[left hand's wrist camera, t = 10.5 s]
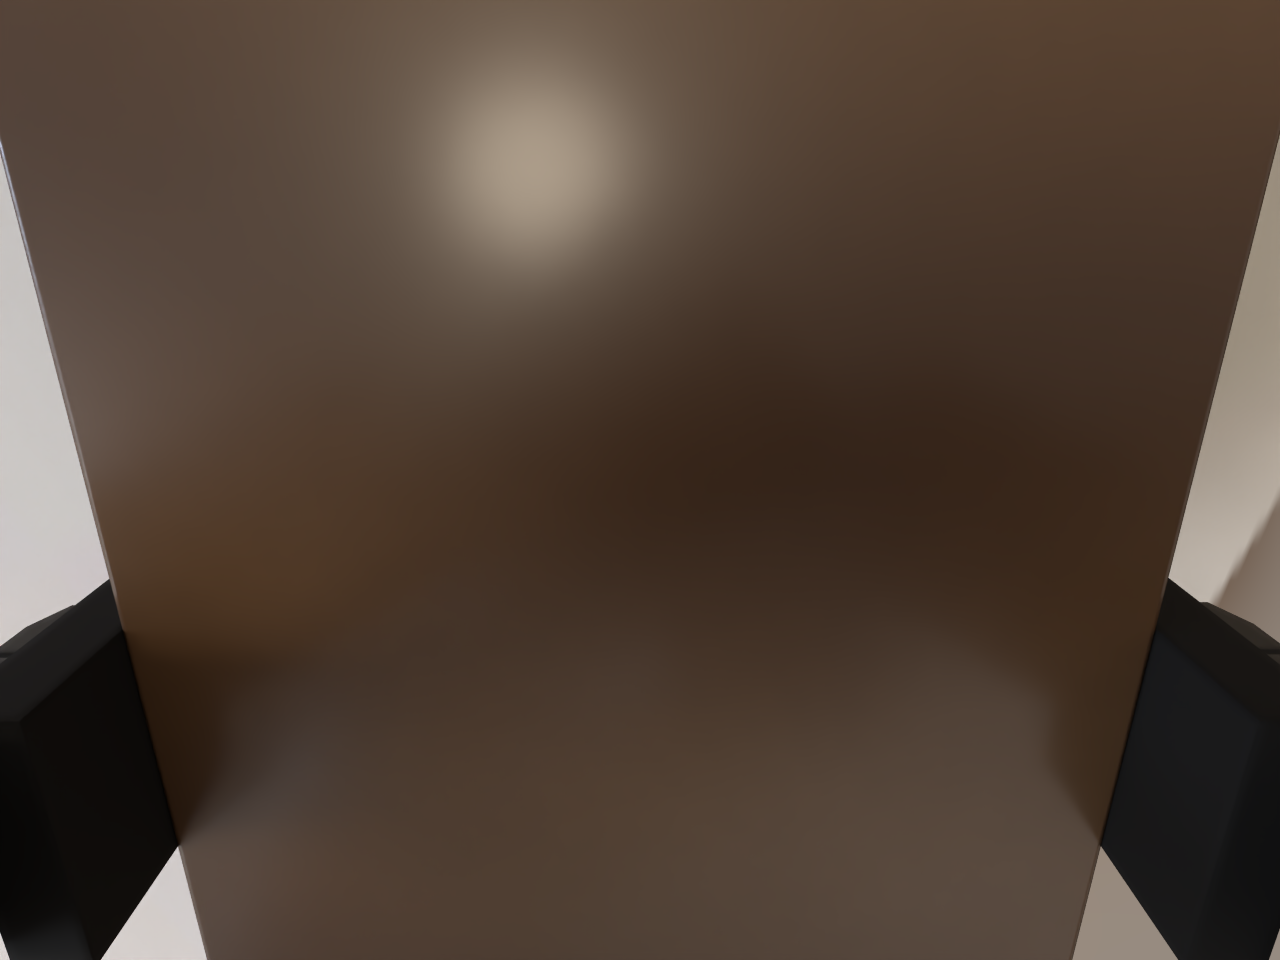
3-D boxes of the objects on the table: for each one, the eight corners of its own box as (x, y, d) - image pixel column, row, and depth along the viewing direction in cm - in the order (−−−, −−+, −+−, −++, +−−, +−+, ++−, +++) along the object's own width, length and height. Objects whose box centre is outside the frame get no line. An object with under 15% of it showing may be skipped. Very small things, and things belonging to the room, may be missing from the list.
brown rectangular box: (298, -487, 12) (-618, -2218, 3) (975, -488, 12) (1882, -2221, 3) (421, 631, 19) (227, 1052, 10) (858, 630, 19) (1052, 1051, 10)
